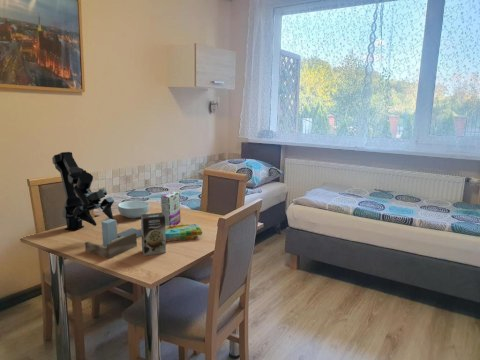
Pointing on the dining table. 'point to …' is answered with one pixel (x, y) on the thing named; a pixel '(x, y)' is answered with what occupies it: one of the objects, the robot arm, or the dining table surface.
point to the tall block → (109, 231)
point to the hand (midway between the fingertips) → (104, 222)
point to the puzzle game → (182, 232)
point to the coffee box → (153, 233)
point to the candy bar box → (171, 208)
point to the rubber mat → (130, 232)
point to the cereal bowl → (133, 208)
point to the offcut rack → (113, 246)
